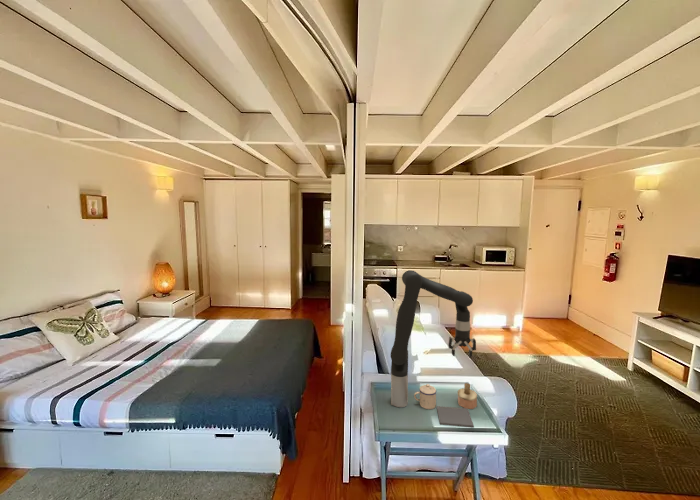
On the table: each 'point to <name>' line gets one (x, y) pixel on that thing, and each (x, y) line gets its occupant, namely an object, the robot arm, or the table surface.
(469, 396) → the lid
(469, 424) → the mat
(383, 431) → the table surface
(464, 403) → the bowl
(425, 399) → the teacup with lid
